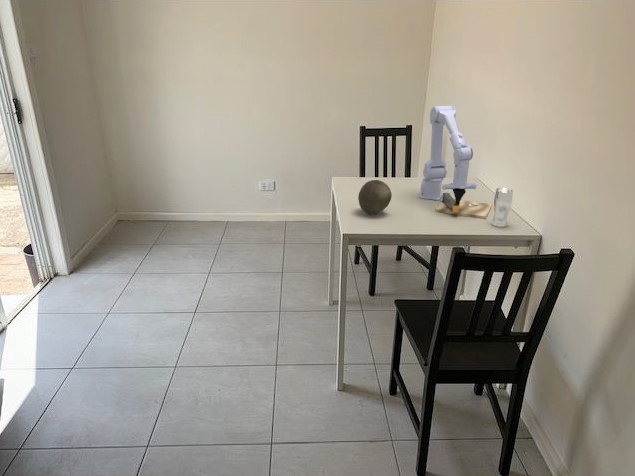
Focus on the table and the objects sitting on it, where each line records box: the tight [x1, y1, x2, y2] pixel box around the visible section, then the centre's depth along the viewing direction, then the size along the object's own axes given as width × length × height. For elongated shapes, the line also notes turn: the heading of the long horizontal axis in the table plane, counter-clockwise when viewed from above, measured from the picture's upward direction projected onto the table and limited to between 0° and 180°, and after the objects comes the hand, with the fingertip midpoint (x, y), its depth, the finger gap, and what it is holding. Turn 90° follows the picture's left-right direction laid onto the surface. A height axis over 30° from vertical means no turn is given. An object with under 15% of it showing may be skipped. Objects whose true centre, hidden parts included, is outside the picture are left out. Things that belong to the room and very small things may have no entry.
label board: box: [434, 198, 493, 220], centre depth 215 cm, size 22×18×2 cm
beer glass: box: [491, 187, 514, 228], centre depth 195 cm, size 7×7×15 cm
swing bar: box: [441, 192, 459, 213], centre depth 213 cm, size 19×3×3 cm, turn 0°
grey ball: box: [357, 179, 393, 215], centre depth 208 cm, size 14×14×15 cm
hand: (457, 204), depth 209 cm, fingers closed
